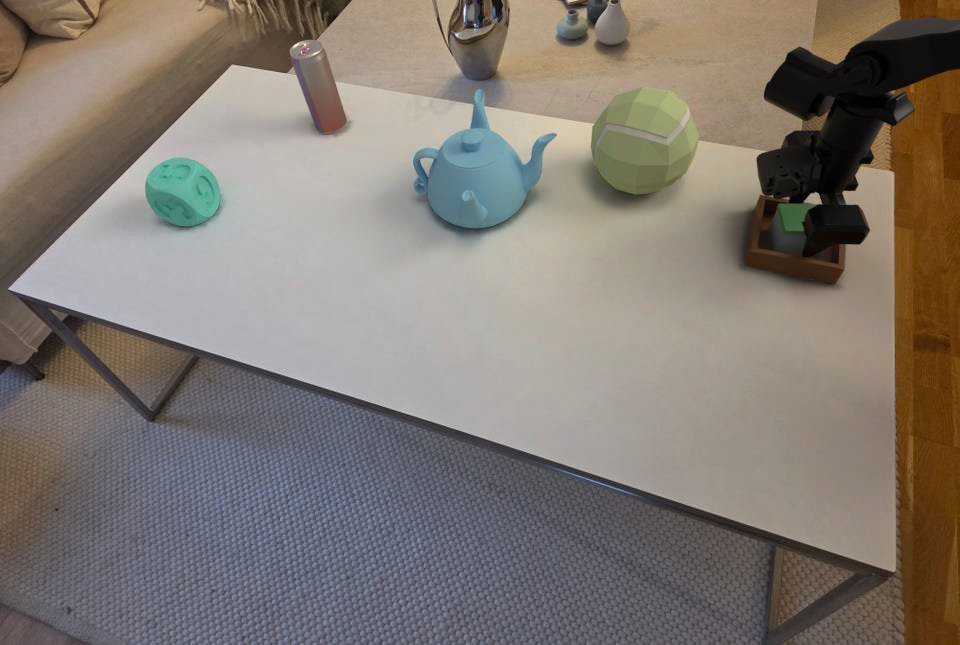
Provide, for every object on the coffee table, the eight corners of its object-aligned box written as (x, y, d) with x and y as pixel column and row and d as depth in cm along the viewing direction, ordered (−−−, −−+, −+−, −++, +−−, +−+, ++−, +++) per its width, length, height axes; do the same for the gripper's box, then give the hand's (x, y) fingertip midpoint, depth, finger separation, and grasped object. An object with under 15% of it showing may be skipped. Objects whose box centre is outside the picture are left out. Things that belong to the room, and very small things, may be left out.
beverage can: (310, 133, 109) (281, 56, 97) (325, 113, 112) (299, 37, 100) (338, 137, 108) (313, 60, 95) (352, 117, 111) (329, 40, 99)
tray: (753, 210, 88) (760, 194, 86) (838, 225, 85) (847, 209, 82) (744, 265, 82) (750, 250, 80) (835, 284, 79) (844, 269, 76)
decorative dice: (184, 193, 102) (160, 155, 95) (226, 195, 101) (204, 157, 94) (163, 226, 97) (136, 189, 91) (207, 228, 96) (182, 191, 90)
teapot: (559, 195, 94) (561, 130, 84) (474, 260, 87) (465, 197, 77) (485, 150, 102) (479, 86, 92) (402, 206, 95) (386, 143, 85)
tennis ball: (610, 141, 100) (619, 58, 88) (697, 164, 95) (720, 79, 83) (574, 197, 93) (579, 114, 81) (666, 225, 88) (687, 141, 76)
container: (812, 229, 84) (826, 203, 80) (820, 257, 81) (835, 231, 77) (767, 229, 85) (778, 203, 81) (773, 255, 82) (785, 230, 78)
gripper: (760, 91, 75) (728, 185, 88) (788, 190, 64) (748, 281, 77) (853, 90, 74) (808, 186, 86) (898, 191, 63) (839, 284, 75)
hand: (799, 231), depth 81 cm, fingers open, 9 cm apart
